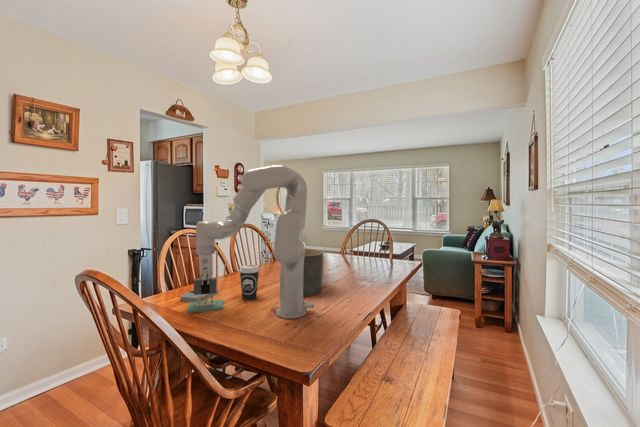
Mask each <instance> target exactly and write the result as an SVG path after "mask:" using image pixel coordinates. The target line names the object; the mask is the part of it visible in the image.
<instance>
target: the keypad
mask: <svg viewBox="0 0 640 427" xmlns="http://www.w3.org/2000/svg"><path fill="white" fill-rule="evenodd" d="M216 295H219V289H218V288H217V292H216V293H214V294H200V295H194V289H192V290H190V291H188V292H185V293H184V294H182V295H181V296H180V299H179V300H180V302H185V303H189V302H198V297H201V301H205V296H207V300H208V299H211V296H213V297H214V296H216Z"/></svg>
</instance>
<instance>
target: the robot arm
mask: <svg viewBox="0 0 640 427" xmlns="http://www.w3.org/2000/svg"><path fill="white" fill-rule="evenodd" d="M240 183H241V187H240V189H239V190H238V191H237V193H236V194H235V195H234V197H233V198H232V200H233V203H234V208H233V209H232V212H231V213H230V214H229V216H227V218H226V219H225V220H220V221H213V220H199V221H197V222H196V225H195V229H196V230H195V235H196V237H195V242H196V243H195V245H196V246H195V248H196V249H195V252H196V253H195V255H198V259H199V260H198V261H199V262H198V263H199V278H202V285H201V294H209V278H211V277H213V276H214V275H213V273H214V260H213V259H214V258H213V254H215V253H216V251H215V250H216V240H225V239H227V238H233V236H235V235H236V234H237V233H238V232H239V230H240V229H241V228H242V227H243V225H244V224H245V223H246V221H247V220H248V217H249V215H250V214H251V213H250V212H251V210H252V209H253V207H255V205H256V203H257V202H258V201H259V200H260V198H261V197H262V196H263V194H264V193H265V192H266V191H267V190H271V189H277V188H282V189H286V197H285V206H284V211H283V212H282V213H281V214H280V215H278V217H277V220H276V223H275V229H274V230H275V231H274V232H275V233H274V242H273V243H274V244H273V254H274V257H275V260H277V262H278V263H280V270H279V307H278V308H277V309H276V311H275V314H276V315H277V317H279V318H281V319H290V320H291V319H292V320H293V319H299V318H303V317H305V316H306V315H307V314H308V313H307V312H308V309H312V308H313V309H315V303H314V302H310V301H306V302H305V301H304V297H303V275H304V256H305V249H306V248H305V244H304V242H303V240H302V239H301V238H300V237H301V236H300V235H301V232H302V231H303V230H304V228H305V225H306V217H307V216H306V214H307V202H308V187H307V183H306V180H305V179H304V177H303V176H302V175H301V174H300V173H299V172H298V171H296V170H294V169H292V168H291V167H288V166H286V165H282V164H277V165H270V166H264V167H259V168H252V169H249V170H247V171H245V172H244V173H242V176H241V179H240Z"/></svg>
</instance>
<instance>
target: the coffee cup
mask: <svg viewBox="0 0 640 427" xmlns="http://www.w3.org/2000/svg"><path fill="white" fill-rule="evenodd" d="M260 271H261V270H260V268H259V266H258V265H256V264H245V265H242V266H240V268H239V271H238V272H239V273H240V274H239V276H240V285H241V286H240V288H241V299H242V300H244V301H252V300H255V299H257V295H258V281H259V273H260Z"/></svg>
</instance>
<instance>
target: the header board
mask: <svg viewBox="0 0 640 427" xmlns="http://www.w3.org/2000/svg"><path fill="white" fill-rule="evenodd" d="M223 302H224V300H223V299H214V296H211V297H210V300H208V299H207V296H205V300H204V301H201V297H198V302H188V306H187V308H186V314H190V313H199V312H200V313H202V312H212V311H213V312H214V311H223V310H224V303H223Z"/></svg>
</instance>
